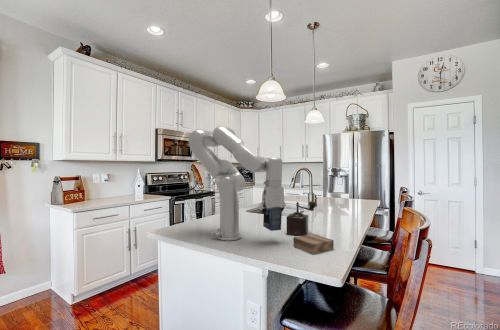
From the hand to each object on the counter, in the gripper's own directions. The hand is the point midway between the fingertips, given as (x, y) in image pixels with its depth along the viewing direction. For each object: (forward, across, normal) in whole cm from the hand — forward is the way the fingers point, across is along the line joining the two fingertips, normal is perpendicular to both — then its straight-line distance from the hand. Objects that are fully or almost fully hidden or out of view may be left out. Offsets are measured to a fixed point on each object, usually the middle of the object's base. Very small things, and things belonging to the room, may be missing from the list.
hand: (272, 221), depth 118 cm
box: (+3, 0, 0) cm, 3 cm away
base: (+9, +11, -16) cm, 21 cm away
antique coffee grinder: (+10, +23, +4) cm, 25 cm away
